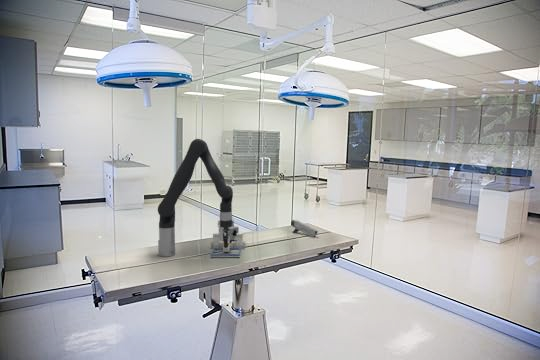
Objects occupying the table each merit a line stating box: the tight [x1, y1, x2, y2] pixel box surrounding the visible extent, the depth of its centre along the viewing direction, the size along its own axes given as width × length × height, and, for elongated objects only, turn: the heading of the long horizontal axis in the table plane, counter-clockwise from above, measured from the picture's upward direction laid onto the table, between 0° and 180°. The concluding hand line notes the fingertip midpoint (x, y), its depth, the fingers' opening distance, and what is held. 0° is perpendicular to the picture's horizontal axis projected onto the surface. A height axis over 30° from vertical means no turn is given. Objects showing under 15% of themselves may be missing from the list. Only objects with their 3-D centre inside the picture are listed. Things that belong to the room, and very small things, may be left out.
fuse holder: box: [209, 240, 246, 250], centre depth 226 cm, size 22×9×5 cm, turn 91°
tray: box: [210, 248, 242, 259], centre depth 215 cm, size 17×13×2 cm
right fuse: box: [236, 232, 244, 248], centre depth 226 cm, size 4×4×9 cm
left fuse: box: [212, 232, 220, 248], centre depth 226 cm, size 4×4×9 cm
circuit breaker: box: [217, 219, 240, 242], centre depth 242 cm, size 8×14×15 cm, turn 53°
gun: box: [290, 219, 319, 238], centre depth 266 cm, size 2×25×10 cm, turn 44°
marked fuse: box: [222, 236, 231, 253], centre depth 215 cm, size 4×4×9 cm
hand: (226, 246), depth 215 cm, fingers closed on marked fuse, 3 cm apart
